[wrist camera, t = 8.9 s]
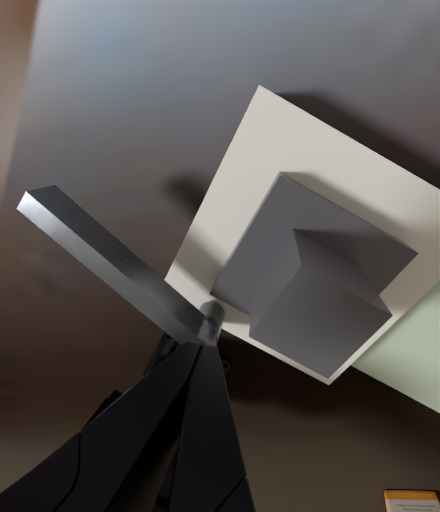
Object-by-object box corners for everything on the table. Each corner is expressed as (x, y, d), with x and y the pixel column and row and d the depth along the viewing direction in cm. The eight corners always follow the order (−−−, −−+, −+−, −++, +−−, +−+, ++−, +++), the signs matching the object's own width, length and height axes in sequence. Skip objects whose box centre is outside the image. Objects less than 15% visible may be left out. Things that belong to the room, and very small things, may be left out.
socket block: (321, 355, 23) (328, 385, 20) (171, 274, 22) (157, 294, 19) (461, 209, 17) (498, 223, 14) (261, 94, 16) (259, 85, 13)
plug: (312, 315, 21) (338, 423, 13) (220, 265, 21) (189, 345, 13) (386, 228, 18) (482, 302, 10) (278, 166, 17) (284, 191, 9)
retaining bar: (230, 314, 19) (221, 351, 15) (212, 327, 19) (200, 366, 16) (76, 177, 17) (28, 186, 13) (63, 198, 17) (14, 212, 14)
